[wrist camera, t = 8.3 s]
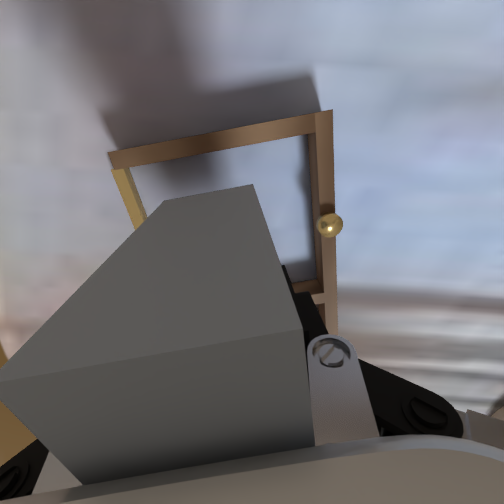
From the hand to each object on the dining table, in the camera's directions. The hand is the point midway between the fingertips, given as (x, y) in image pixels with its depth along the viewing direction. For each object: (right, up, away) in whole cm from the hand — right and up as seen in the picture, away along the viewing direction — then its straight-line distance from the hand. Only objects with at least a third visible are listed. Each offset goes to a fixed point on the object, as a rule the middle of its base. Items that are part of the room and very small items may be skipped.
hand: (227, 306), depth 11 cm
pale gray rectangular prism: (0, +1, +2) cm, 2 cm away
